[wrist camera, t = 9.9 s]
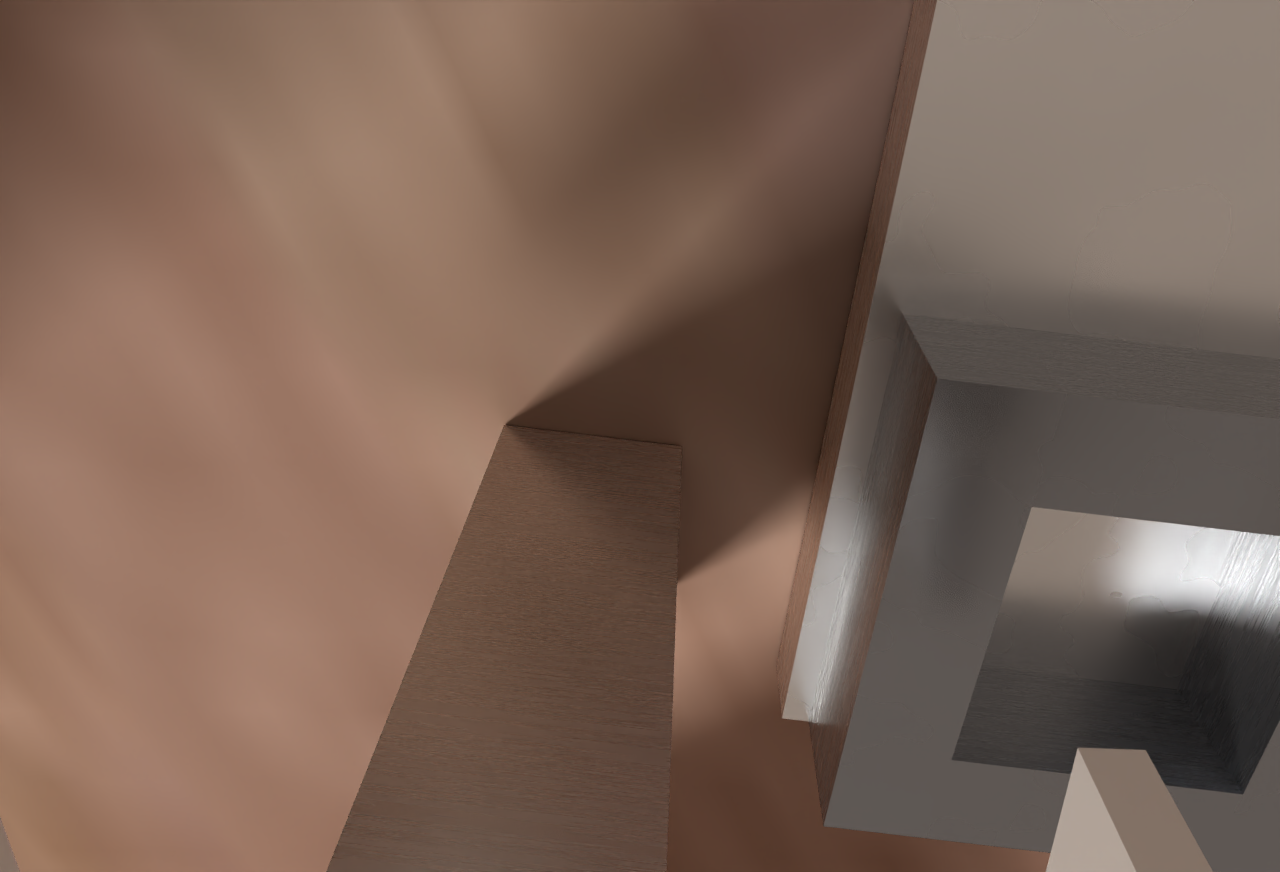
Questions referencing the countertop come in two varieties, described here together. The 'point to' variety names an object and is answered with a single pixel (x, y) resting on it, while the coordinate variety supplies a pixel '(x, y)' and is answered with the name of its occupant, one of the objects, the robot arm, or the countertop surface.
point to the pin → (538, 675)
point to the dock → (1070, 240)
